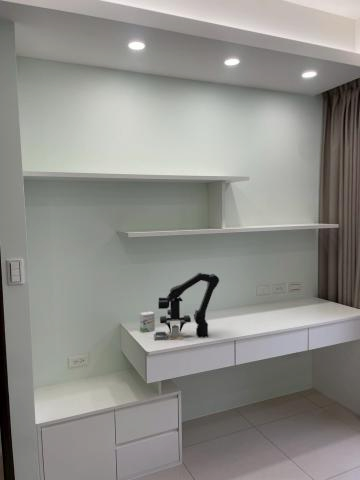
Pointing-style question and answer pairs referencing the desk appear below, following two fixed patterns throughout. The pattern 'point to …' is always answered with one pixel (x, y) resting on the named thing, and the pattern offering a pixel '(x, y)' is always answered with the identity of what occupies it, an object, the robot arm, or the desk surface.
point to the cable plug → (175, 331)
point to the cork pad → (174, 338)
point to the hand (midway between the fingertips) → (175, 332)
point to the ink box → (147, 321)
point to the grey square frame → (157, 337)
